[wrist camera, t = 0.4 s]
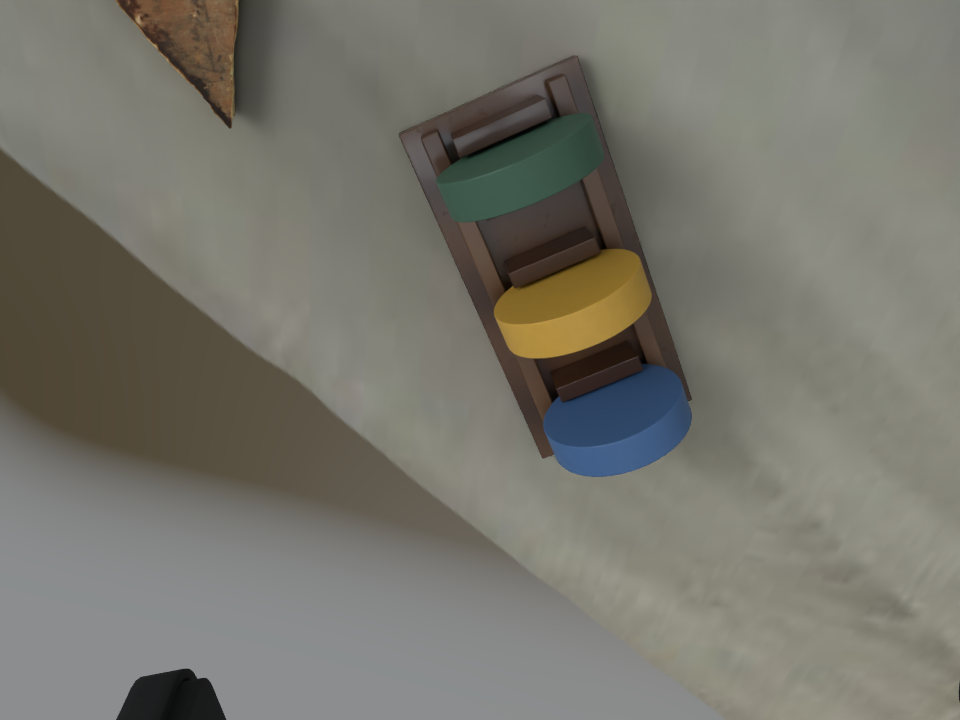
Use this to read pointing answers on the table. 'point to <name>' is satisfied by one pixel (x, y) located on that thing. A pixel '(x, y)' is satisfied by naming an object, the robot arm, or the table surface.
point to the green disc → (521, 168)
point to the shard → (194, 43)
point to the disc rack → (540, 238)
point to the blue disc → (619, 423)
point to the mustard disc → (574, 305)
